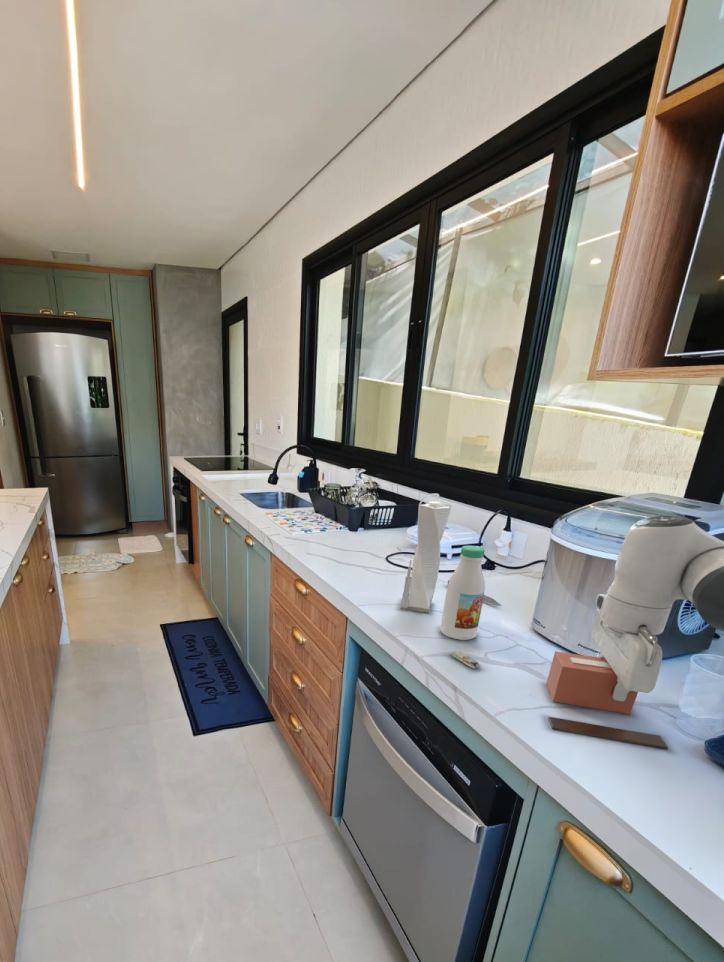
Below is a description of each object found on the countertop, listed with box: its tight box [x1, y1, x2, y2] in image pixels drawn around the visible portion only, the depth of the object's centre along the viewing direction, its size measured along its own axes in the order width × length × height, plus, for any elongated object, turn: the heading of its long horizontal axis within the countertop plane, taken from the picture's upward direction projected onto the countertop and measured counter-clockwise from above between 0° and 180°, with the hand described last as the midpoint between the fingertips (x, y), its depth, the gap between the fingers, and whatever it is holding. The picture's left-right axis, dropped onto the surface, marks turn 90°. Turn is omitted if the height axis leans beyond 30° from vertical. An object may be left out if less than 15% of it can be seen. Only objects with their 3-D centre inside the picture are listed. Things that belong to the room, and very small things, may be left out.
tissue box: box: [545, 650, 639, 715], centre depth 88 cm, size 6×12×7 cm, turn 74°
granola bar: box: [449, 650, 482, 669], centre depth 101 cm, size 7×2×1 cm, turn 25°
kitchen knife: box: [447, 579, 502, 607], centre depth 135 cm, size 18×1×2 cm, turn 27°
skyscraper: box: [400, 493, 452, 614], centre depth 123 cm, size 8×8×28 cm
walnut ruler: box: [548, 716, 669, 750], centre depth 80 cm, size 16×3×1 cm, turn 74°
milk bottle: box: [440, 545, 486, 641], centre depth 110 cm, size 8×8×20 cm
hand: (610, 687), depth 88 cm, fingers closed on tissue box, 6 cm apart
